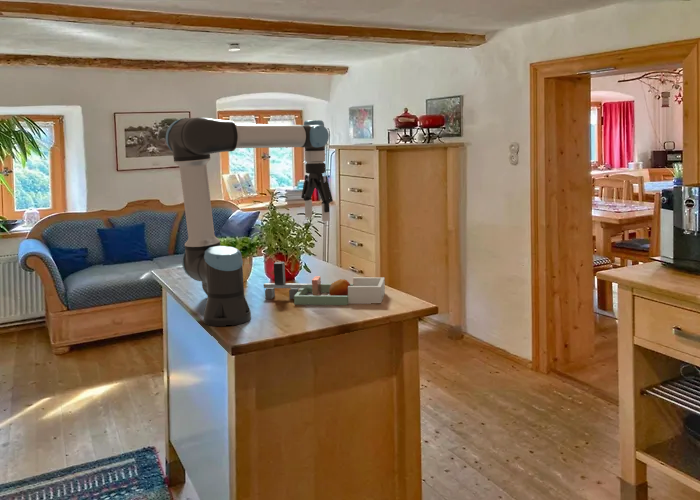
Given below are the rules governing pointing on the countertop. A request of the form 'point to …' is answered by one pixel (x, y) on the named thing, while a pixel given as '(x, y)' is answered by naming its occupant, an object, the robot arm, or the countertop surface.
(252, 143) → the robot arm
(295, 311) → the countertop surface
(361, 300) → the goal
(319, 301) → the pitch
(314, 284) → the kicker rod
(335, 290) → the fruit
